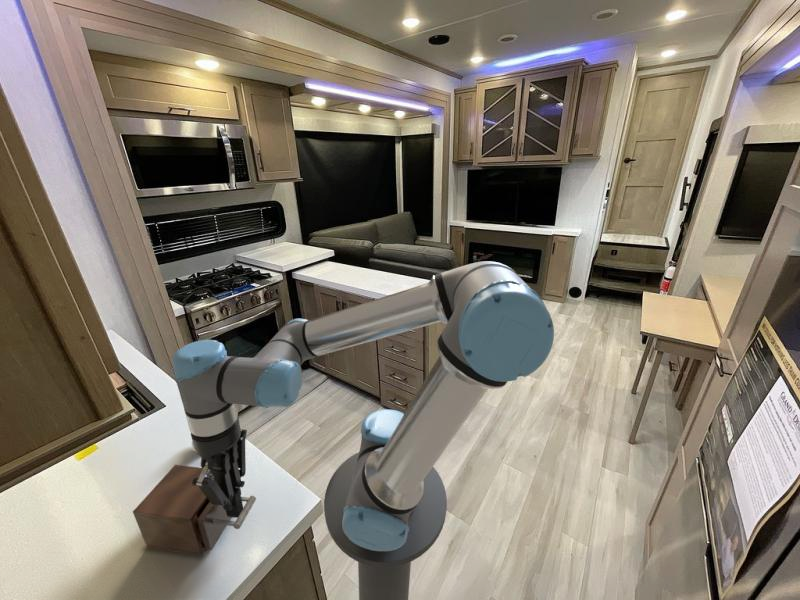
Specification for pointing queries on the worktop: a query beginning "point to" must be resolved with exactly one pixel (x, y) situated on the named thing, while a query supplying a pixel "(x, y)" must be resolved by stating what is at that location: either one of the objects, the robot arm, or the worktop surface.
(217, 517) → the drawer
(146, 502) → the cabinet
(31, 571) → the worktop surface
